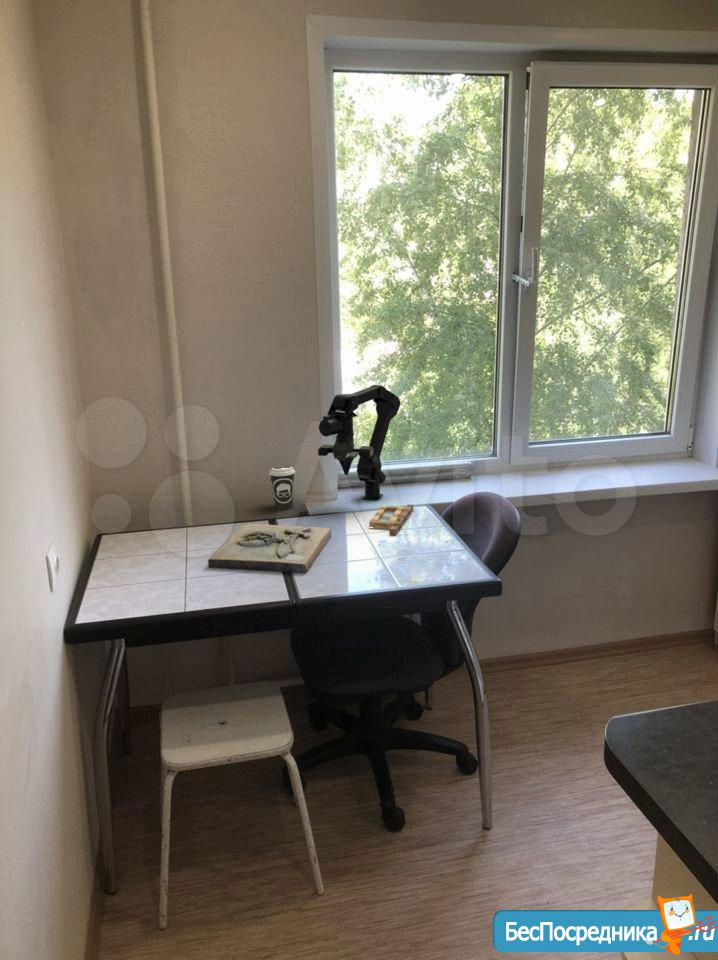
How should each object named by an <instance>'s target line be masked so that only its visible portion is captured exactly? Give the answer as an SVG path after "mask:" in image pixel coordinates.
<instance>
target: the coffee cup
mask: <svg viewBox="0 0 718 960" xmlns="http://www.w3.org/2000/svg"><path fill="white" fill-rule="evenodd" d="M293 468H294V466H293V467H290V468H281V469H274V468H272V469H271V471H270V473H269V474H268V475H269V476H270V475H271V480H270V482H271V481H272V486H271V489H272V488H273V493H272V495H273V494H274V500H273V502H274V501H275V506H274V509H275V508H276V509H275V510H277V511H286V510H291V509H293V508H294V489H295V488H294V486H295V483H294V482H295V479H294V478H295V474H296V470H294V469H295V468H294V469H293Z"/></svg>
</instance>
